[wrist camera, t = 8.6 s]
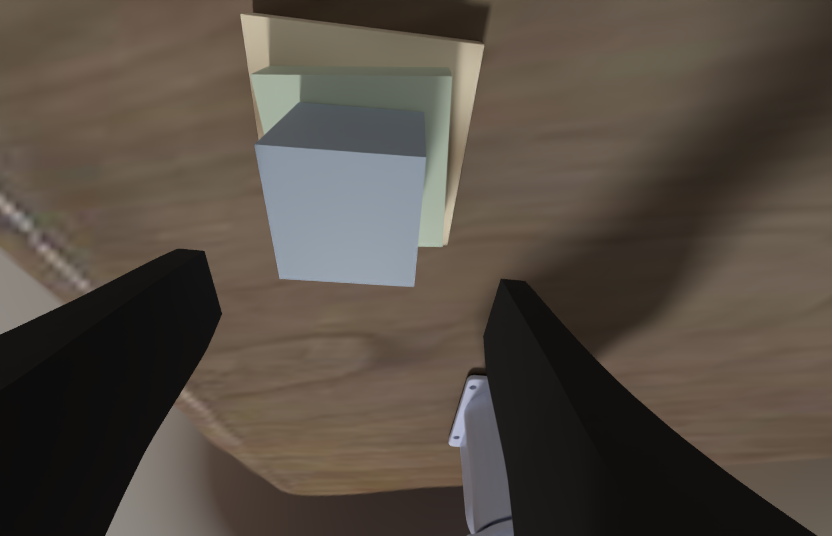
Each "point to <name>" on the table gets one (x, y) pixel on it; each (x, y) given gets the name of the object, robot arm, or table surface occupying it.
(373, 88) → the green block
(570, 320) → the table surface
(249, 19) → the birch slab
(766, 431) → the table surface
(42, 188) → the table surface
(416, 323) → the table surface
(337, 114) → the blue cube
